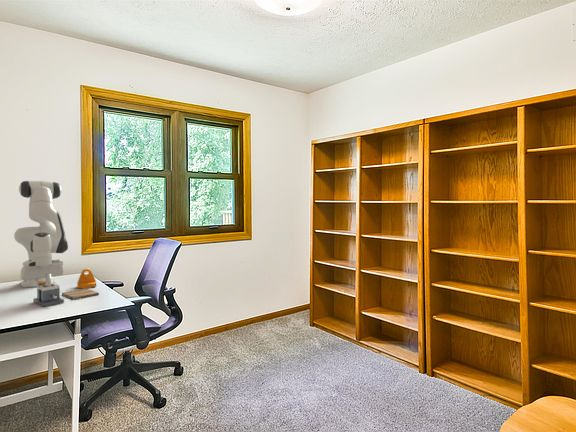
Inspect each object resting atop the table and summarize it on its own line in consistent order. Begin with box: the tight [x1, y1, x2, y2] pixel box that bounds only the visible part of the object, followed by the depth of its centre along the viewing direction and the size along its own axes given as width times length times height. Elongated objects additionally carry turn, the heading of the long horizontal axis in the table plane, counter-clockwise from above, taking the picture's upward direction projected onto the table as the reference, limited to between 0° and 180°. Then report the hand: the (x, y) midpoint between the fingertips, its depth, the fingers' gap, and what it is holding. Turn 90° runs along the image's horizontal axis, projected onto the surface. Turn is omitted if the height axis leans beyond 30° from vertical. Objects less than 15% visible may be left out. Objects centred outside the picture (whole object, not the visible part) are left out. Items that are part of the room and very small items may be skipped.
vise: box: [32, 274, 65, 308], centre depth 195 cm, size 17×10×16 cm, turn 53°
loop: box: [36, 281, 60, 291], centre depth 198 cm, size 15×8×2 cm, turn 53°
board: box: [61, 288, 100, 301], centre depth 213 cm, size 16×14×1 cm
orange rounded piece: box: [76, 267, 97, 290], centre depth 232 cm, size 11×7×12 cm, turn 121°
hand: (42, 285), depth 201 cm, fingers closed on loop, 2 cm apart
